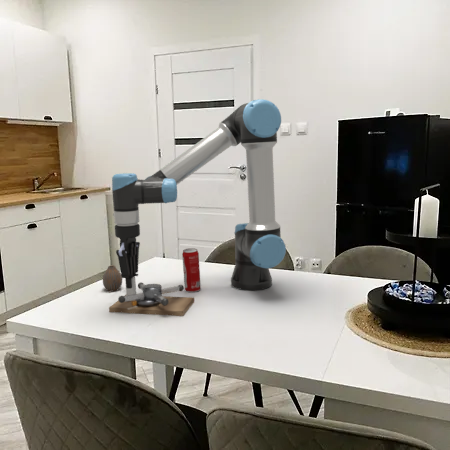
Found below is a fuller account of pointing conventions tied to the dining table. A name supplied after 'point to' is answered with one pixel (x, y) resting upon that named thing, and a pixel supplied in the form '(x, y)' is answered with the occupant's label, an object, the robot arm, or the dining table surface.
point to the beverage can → (191, 270)
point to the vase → (112, 279)
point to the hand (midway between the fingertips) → (131, 296)
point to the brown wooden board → (156, 307)
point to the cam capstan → (150, 295)
